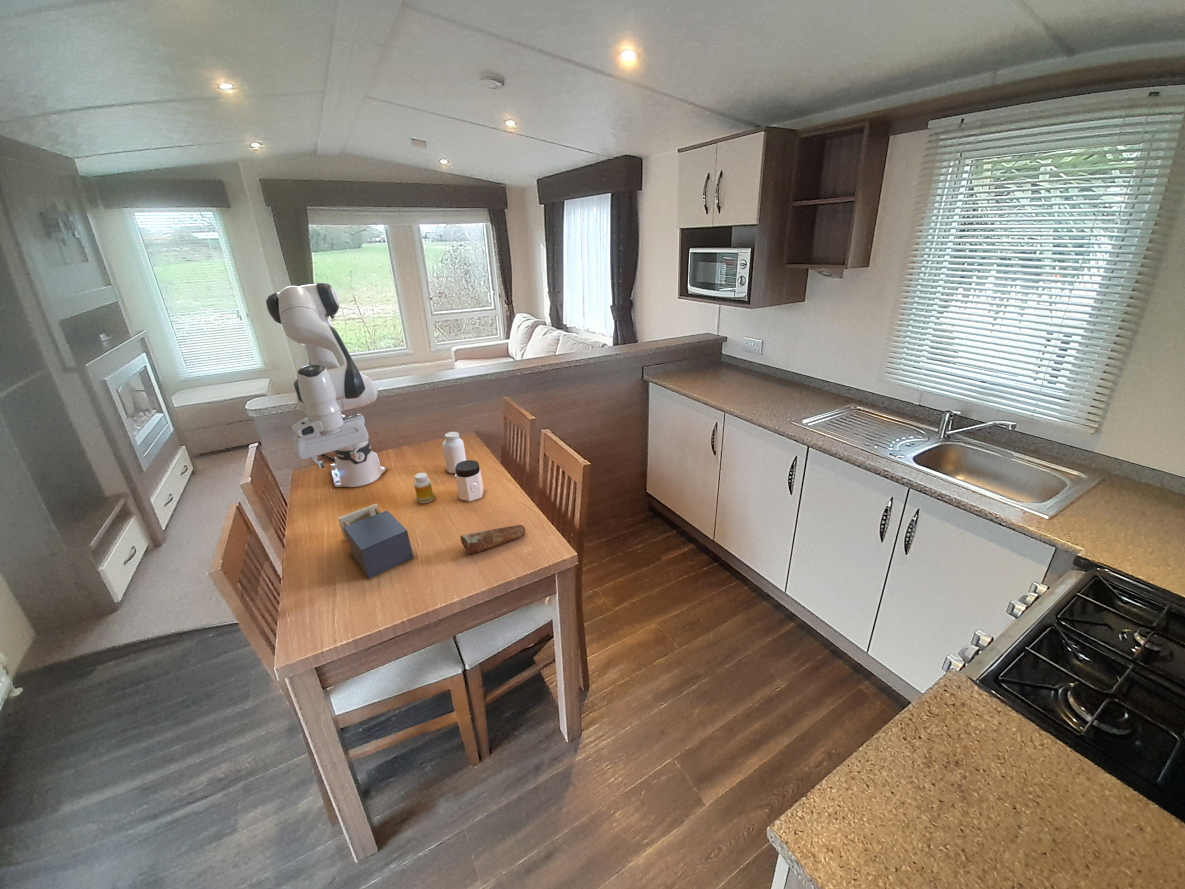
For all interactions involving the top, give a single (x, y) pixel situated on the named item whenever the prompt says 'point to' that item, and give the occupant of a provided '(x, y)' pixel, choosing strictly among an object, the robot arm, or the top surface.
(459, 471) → the jar
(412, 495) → the top surface
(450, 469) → the pill bottle
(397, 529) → the dark grey box
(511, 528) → the rusty brown tapered cylinder
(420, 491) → the supplement bottle
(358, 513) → the drawer
